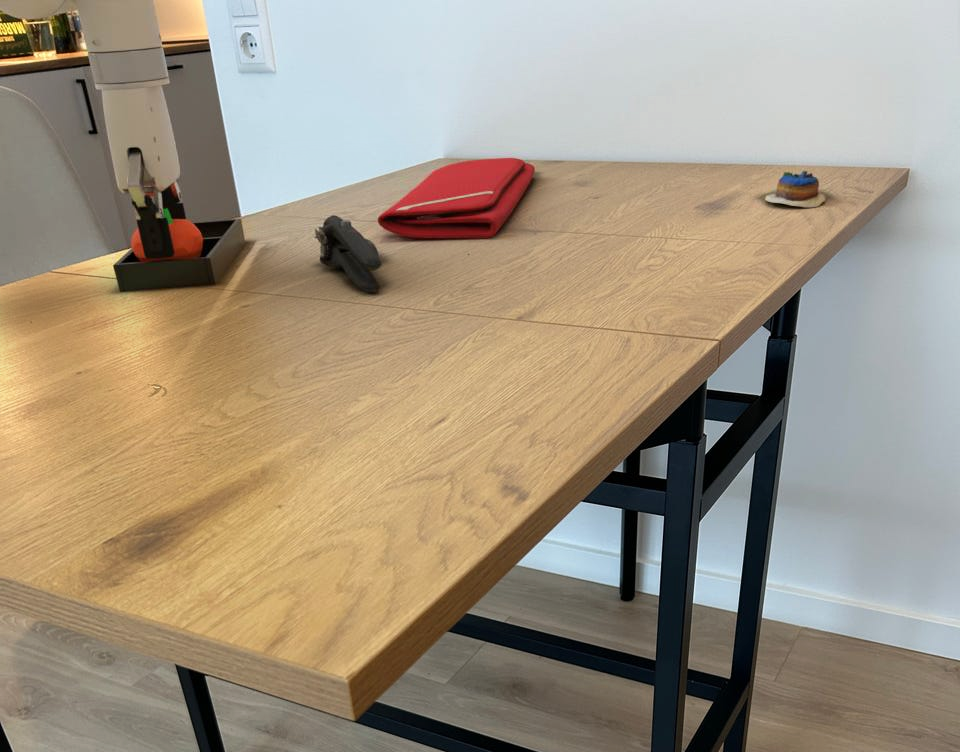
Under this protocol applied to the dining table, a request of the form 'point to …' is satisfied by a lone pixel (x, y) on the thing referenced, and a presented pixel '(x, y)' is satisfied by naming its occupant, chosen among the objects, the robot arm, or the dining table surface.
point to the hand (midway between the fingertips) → (168, 247)
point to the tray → (185, 261)
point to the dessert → (797, 190)
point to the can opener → (349, 252)
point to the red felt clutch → (461, 200)
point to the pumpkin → (174, 240)
